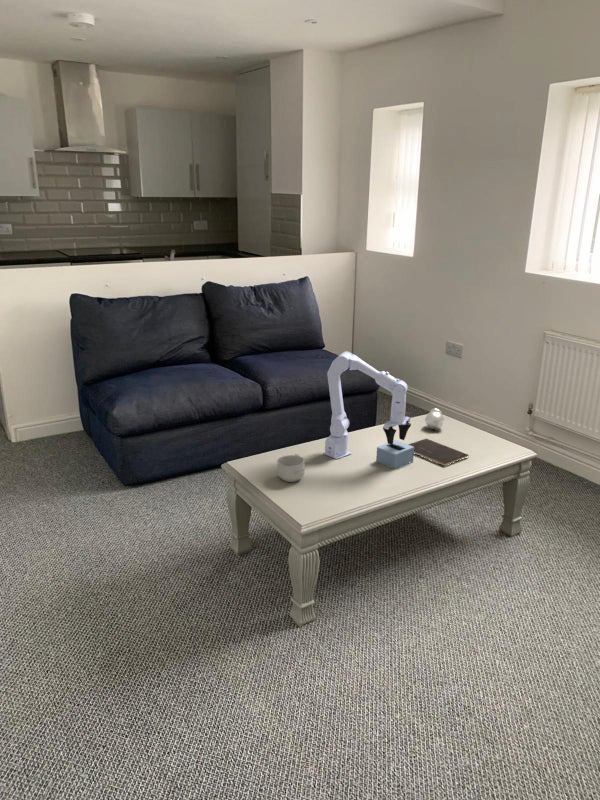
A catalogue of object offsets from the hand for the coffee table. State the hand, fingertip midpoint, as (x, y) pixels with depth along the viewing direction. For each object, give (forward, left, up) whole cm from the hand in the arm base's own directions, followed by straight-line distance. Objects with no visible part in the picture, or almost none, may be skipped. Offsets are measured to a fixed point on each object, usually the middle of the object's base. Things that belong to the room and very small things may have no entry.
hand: (396, 441), depth 264 cm
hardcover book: (+20, -6, -10) cm, 23 cm away
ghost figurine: (+45, +13, -9) cm, 48 cm away
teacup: (-43, +16, -9) cm, 47 cm away
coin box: (0, 0, -9) cm, 9 cm away
